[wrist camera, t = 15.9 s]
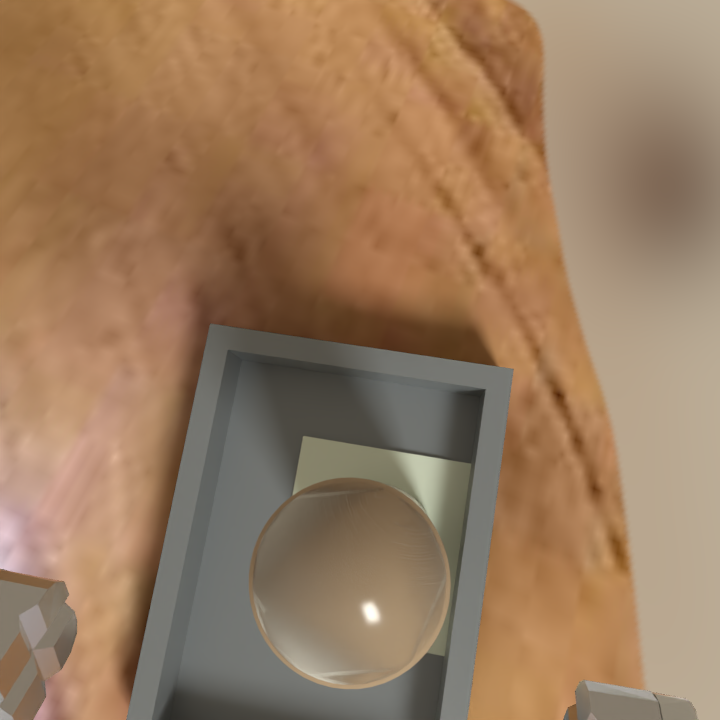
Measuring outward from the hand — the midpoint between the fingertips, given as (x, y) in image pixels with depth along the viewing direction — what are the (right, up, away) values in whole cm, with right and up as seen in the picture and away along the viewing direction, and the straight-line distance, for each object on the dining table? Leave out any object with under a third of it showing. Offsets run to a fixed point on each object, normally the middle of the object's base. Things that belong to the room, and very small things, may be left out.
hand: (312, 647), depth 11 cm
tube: (+1, -3, +18) cm, 19 cm away
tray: (-1, -4, +19) cm, 20 cm away
